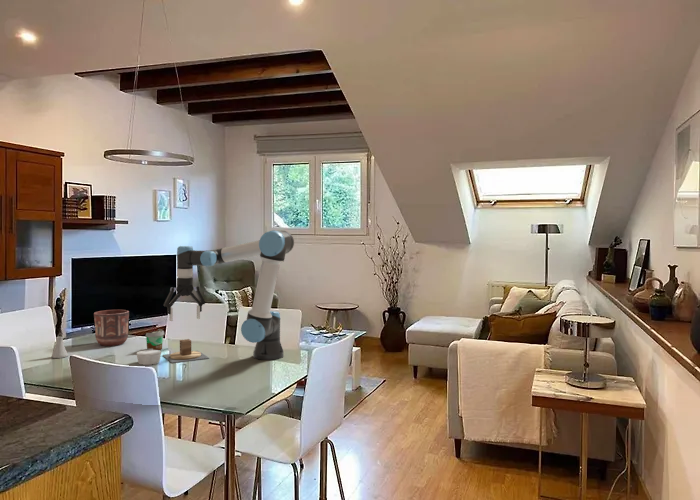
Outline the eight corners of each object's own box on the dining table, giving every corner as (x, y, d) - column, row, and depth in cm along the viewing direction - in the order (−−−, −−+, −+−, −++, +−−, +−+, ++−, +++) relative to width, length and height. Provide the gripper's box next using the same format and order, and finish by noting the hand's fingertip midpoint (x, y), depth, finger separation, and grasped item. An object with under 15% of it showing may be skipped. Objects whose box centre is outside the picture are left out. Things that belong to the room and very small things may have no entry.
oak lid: (205, 357, 268) (205, 341, 268) (174, 361, 260) (174, 344, 260) (195, 351, 281) (195, 336, 281) (166, 355, 273) (166, 339, 273)
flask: (71, 356, 272) (71, 336, 271) (58, 359, 265) (57, 339, 265) (61, 354, 275) (61, 335, 274) (48, 357, 268) (48, 337, 268)
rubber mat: (209, 358, 268) (209, 357, 268) (172, 363, 258) (172, 362, 258) (197, 351, 283) (197, 350, 283) (162, 355, 273) (162, 354, 273)
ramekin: (153, 359, 267) (153, 348, 267) (166, 362, 260) (165, 351, 260) (132, 363, 259) (131, 352, 258) (144, 367, 251) (144, 355, 251)
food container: (156, 352, 280) (156, 333, 280) (145, 352, 281) (145, 333, 281) (168, 347, 292) (168, 329, 292) (158, 347, 293) (158, 328, 293)
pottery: (118, 339, 313) (117, 308, 312) (135, 343, 303) (135, 311, 302) (88, 344, 298) (87, 312, 298) (105, 349, 288) (104, 315, 287)
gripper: (206, 275, 279) (206, 316, 280) (157, 277, 265) (157, 320, 266) (211, 276, 273) (211, 318, 274) (161, 278, 259) (161, 322, 260)
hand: (184, 319), depth 270 cm, fingers open, 13 cm apart
